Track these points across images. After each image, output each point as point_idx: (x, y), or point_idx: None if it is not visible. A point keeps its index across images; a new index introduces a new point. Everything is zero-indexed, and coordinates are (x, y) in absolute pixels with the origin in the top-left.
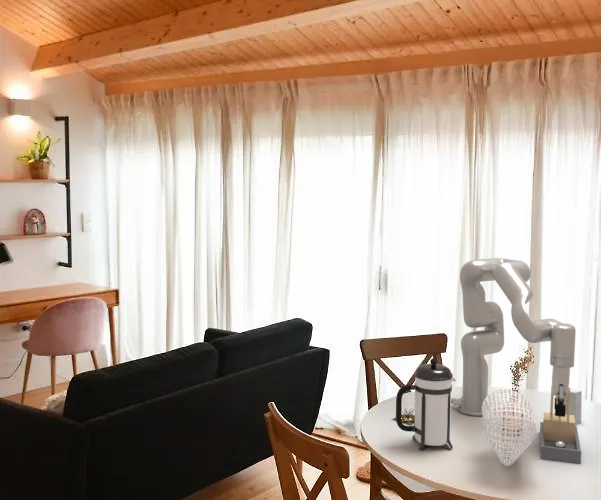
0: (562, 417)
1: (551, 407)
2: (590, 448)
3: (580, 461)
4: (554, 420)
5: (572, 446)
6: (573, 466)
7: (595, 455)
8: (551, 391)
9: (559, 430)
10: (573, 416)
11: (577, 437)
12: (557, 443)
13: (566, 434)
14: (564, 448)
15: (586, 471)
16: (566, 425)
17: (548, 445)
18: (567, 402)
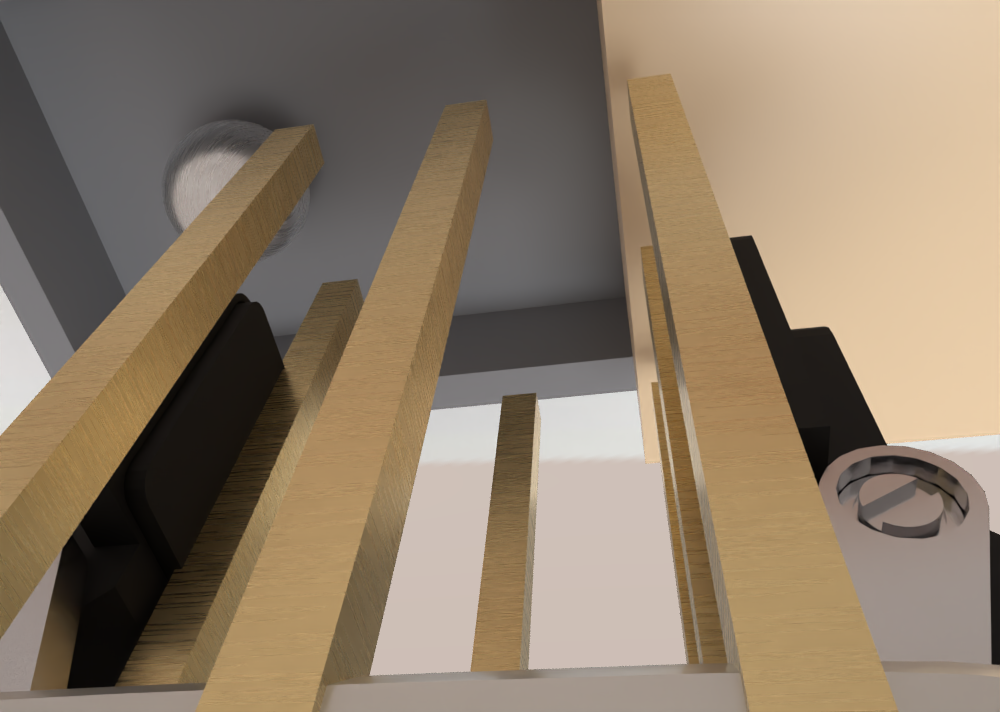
0: (881, 267)
1: (136, 300)
2: (617, 420)
3: None
4: (633, 147)
5: (495, 284)
6: None
7: (444, 462)
8: (205, 686)
9: (615, 176)
10: (994, 424)
11: (524, 389)
12: (169, 180)
13: (622, 251)
14: (32, 283)
15: (5, 413)
16: (630, 316)
17: (364, 2)
18: (691, 656)
